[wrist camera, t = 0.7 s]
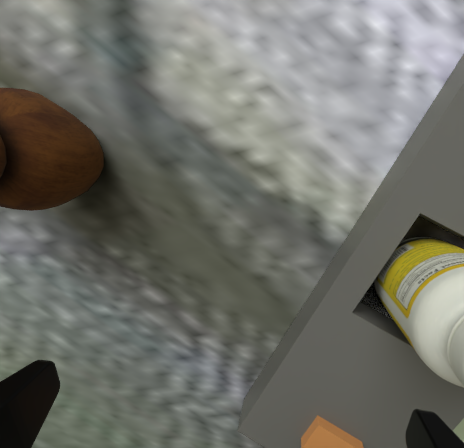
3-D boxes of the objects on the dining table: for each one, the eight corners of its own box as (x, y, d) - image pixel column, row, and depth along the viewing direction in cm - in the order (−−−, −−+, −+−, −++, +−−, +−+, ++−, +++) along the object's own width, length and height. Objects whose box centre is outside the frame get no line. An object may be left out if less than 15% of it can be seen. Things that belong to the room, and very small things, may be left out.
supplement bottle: (468, 316, 20) (625, 449, 11) (375, 318, 21) (441, 442, 12) (466, 230, 19) (635, 291, 10) (369, 238, 20) (436, 299, 11)
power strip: (488, 15, 17) (541, -27, 14) (672, 100, 16) (780, 81, 13) (244, 398, 24) (235, 440, 20) (366, 473, 23) (380, 531, 19)
